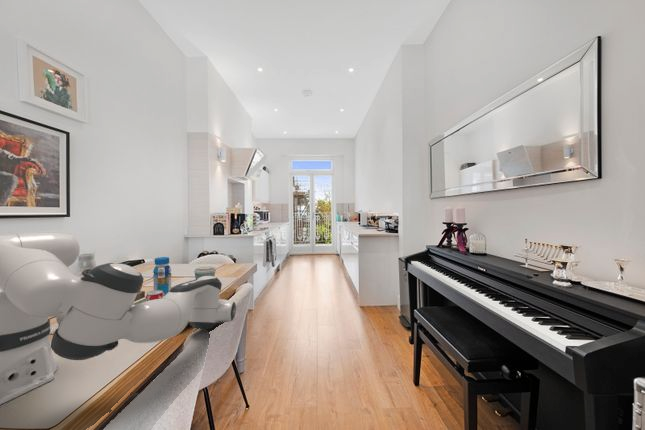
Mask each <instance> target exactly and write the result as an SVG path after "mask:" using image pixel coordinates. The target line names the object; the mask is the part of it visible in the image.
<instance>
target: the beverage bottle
mask: <svg viewBox="0 0 645 430" xmlns="http://www.w3.org/2000/svg"><path fill="white" fill-rule="evenodd" d="M169 264H170V257H169V256H161V257H155V258H154V265H155V266H154V267H153V270H152V271H153V272H152V273H153V275H152V279H153V281H152V282H153V291H155V290H162V291H163V293H164V294H165V295H166V294H167V293H168V292H169V291H170V289H171V288H172V269H171V267H170V265H169Z"/></svg>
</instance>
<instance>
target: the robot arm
mask: <svg viewBox="0 0 645 430" xmlns="http://www.w3.org/2000/svg"><path fill="white" fill-rule="evenodd" d="M79 256H80V245H79V242H78V241H77V239H76V238H75V237H74V235H71V234H69V233H61V232H52V231H51V232H49V231H48V232H47V231H45V232H32V233H16V234H15V233H13V234H0V289H1V292H0V405H2V404H5V403H6V402H9V401H11V400H13V399H15V398H18V397H20V396H22V395H23V394H26V393H27V392H30V391H32V390H34V389H36V388H38V387H40V386H43V385H45V384H46V383H48V382H50V381H52V380H53V379H55V376H54V374H55V372H56V371H57V370H58V365H57V363H56V361H55V359H54V355H53V352H54V354H56V355H57V356H59V357H61V358H63V359H66V360H71V361H84V360H89V359H92V358H95V357H98V356H101V355H103V354H104V353H105V352H106V351H113V350H114V349H116V347H118V346H119V340H127V341H129V342H132V343H134V344H152V343H158V342H163V341H166V340H168V339H171V338H174V337H176V336H177V335H179V334H180V333H181V332H183V330H184V329H185V328H186V327H187V326H188V324H189V325H190V326H191V327H192V328H193V329H205V330H210V329H212V328H214V327H215V326H216V325H217V324H219V323H229V322H233V321H234V319H235V317H236V316H235V315H236V311H237V307H236V302H235V301H233V300H229V299H222V298H220V295H221V291H222V290H221V289H222V286H223V283H222V282H221V281H220V279H219V278H218V277H216V276H214V277H213V276H203V277H200V278H197V279H193V280H189V281H186V282H183V283H179V284H176V285H174V286H171V289H170V291H169V292H168V293H167V294H166V295H165V296H164V297H163V298H161V299H154V300H149V301H146V302H142V303H140V304H137V305H133V303H134V300H135V298H136V296H137V293H139V292H140V291H142V287H143V285H144V284H143V283H144V280H145V278H144V276H143V275H142V273H141V272H139V271H138V270H137V269H136V268H134V267H133V266H131V265H128V264H126V263H125V264H124V263H114V262H108V263H104V264H103V263H102V264H100V265H97V266H95V267H93V268H87V269H84V270H82V272H81V275H82V277H81V276H78V275H75V273H73V271H72V270H70V268H69V267H70V266H71V265H73V264H74V263H75V262H76V261H77V259H78V258H79ZM61 313H66V314H65V316H64V318H63V320H62V322H61V324H60V326H59V328H58V327H57V328H55V331H54V333H53V335H52V338H51V342H50V337H49V336H50V334H51V321H50V319H48V318H53V317H57V315H59V314H61ZM52 351H53V352H52Z"/></svg>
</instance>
